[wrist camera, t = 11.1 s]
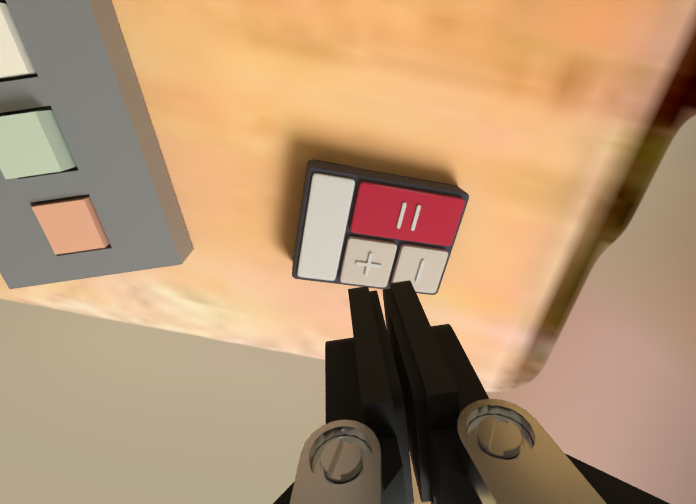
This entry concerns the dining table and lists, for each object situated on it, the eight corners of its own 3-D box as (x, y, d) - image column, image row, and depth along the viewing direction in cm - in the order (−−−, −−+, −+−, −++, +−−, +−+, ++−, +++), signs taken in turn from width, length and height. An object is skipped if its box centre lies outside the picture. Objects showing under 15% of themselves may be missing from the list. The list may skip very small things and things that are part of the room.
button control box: (439, 300, 38) (291, 282, 36) (426, 279, 42) (292, 262, 39) (474, 196, 34) (308, 167, 31) (456, 184, 38) (308, 157, 35)
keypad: (-117, -13, 28) (-173, -25, 25) (96, -44, 28) (67, -61, 25) (36, 271, 38) (9, 289, 35) (193, 249, 38) (181, 264, 35)
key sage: (1, 117, 30) (-25, 120, 27) (57, 109, 30) (34, 111, 27) (28, 172, 32) (5, 179, 29) (80, 164, 32) (61, 171, 29)
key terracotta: (51, 198, 34) (31, 207, 31) (100, 191, 34) (83, 199, 31) (72, 243, 35) (55, 254, 33) (118, 236, 35) (104, 247, 33)
